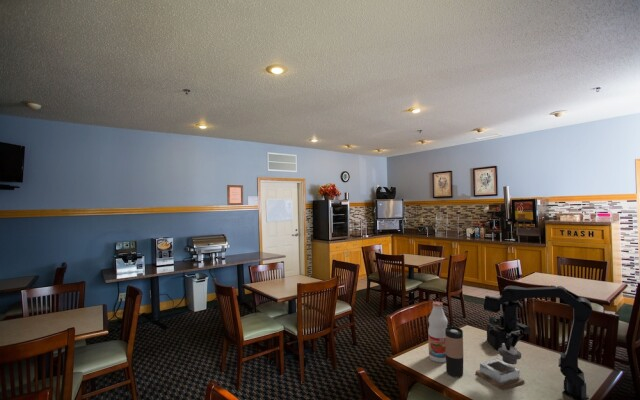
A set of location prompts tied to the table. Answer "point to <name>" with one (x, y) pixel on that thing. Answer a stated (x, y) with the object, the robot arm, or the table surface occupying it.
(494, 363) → the hollow square frame
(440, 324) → the fruit juice
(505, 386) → the walnut plate
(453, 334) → the travel mug
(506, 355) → the grey disc with handle
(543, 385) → the table surface
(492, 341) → the camera
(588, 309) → the robot arm
